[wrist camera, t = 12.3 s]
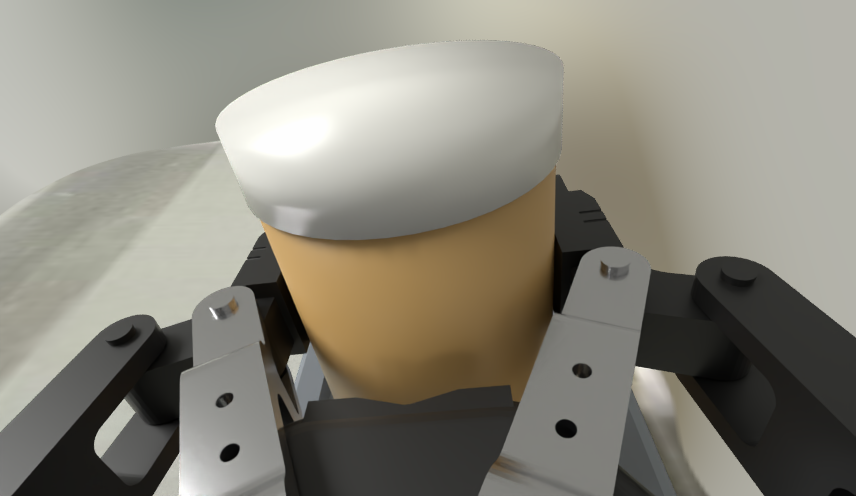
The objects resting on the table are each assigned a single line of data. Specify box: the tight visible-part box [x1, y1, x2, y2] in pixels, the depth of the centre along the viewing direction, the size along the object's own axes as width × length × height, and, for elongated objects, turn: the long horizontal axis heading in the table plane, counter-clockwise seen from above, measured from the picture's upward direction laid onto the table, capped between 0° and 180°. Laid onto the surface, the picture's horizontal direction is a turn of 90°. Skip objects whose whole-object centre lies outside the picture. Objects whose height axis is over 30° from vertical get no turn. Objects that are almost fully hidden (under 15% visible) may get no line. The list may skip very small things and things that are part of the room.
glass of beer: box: [215, 40, 564, 405], centre depth 11 cm, size 6×6×11 cm
